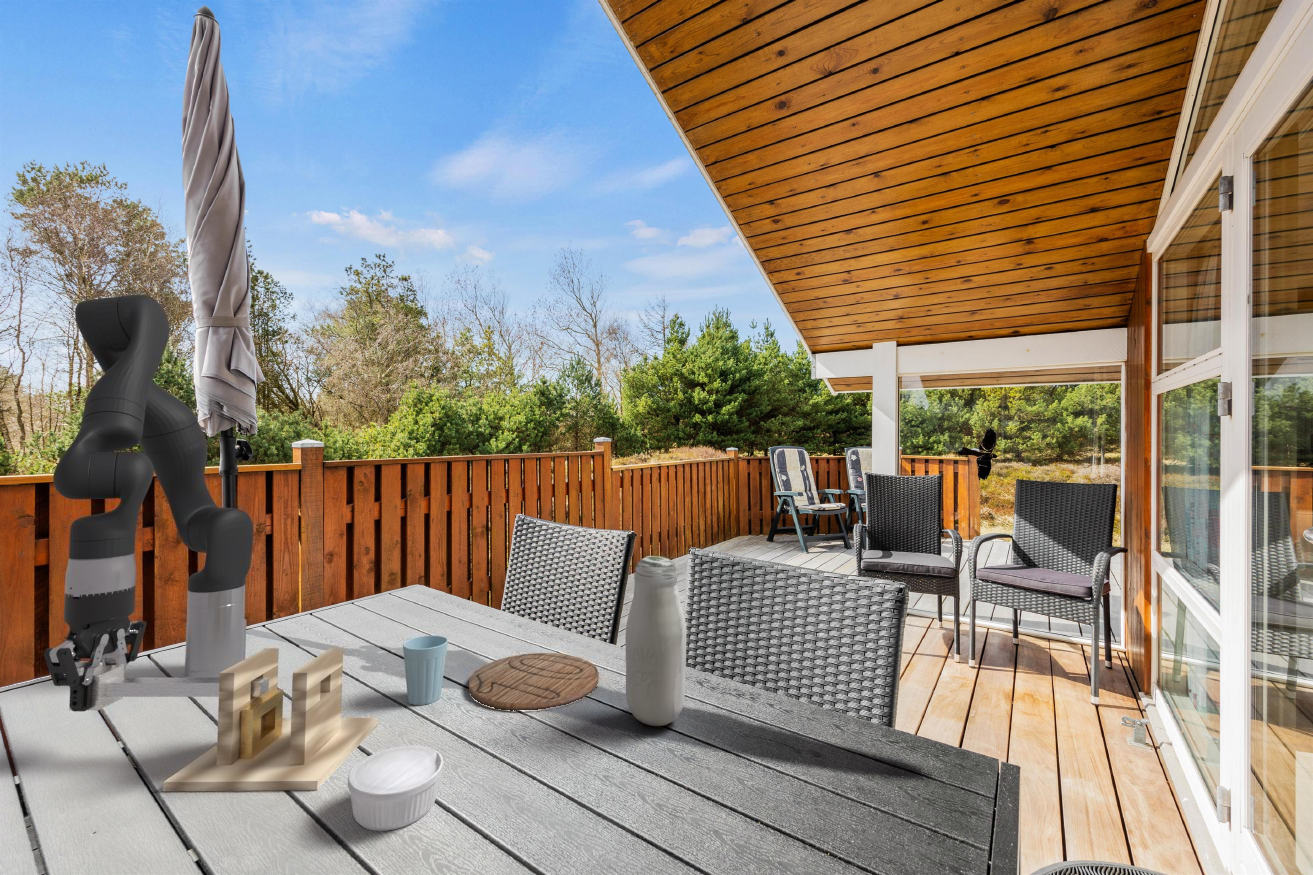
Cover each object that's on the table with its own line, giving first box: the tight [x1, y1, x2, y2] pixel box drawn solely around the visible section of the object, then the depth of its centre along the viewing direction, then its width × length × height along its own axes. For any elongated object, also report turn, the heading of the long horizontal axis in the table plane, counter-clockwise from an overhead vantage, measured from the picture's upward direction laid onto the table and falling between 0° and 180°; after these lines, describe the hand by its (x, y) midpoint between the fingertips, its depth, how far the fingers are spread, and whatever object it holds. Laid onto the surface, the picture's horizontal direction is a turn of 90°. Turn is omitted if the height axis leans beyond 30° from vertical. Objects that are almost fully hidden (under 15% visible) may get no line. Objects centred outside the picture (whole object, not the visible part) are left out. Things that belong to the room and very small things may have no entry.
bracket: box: [162, 647, 379, 792], centre depth 85 cm, size 20×18×14 cm
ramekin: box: [347, 744, 445, 832], centre depth 73 cm, size 11×11×5 cm
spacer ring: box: [240, 688, 284, 759], centre depth 84 cm, size 2×7×7 cm, turn 3°
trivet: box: [468, 652, 600, 711], centre depth 112 cm, size 25×25×2 cm
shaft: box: [68, 664, 269, 711], centre depth 84 cm, size 26×4×5 cm, turn 92°
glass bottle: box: [624, 555, 687, 727], centre depth 97 cm, size 10×10×28 cm
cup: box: [402, 634, 449, 706], centre depth 104 cm, size 8×8×10 cm
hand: (96, 702), depth 84 cm, fingers closed on shaft, 4 cm apart
